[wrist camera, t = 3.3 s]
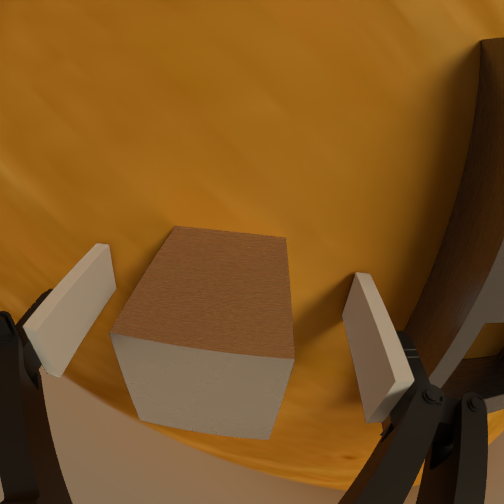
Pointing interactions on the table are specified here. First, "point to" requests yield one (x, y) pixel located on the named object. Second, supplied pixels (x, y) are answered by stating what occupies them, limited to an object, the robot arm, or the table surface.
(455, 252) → the grey compartment tray
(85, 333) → the robot arm
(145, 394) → the brushed gray brick
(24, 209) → the table surface
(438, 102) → the table surface
